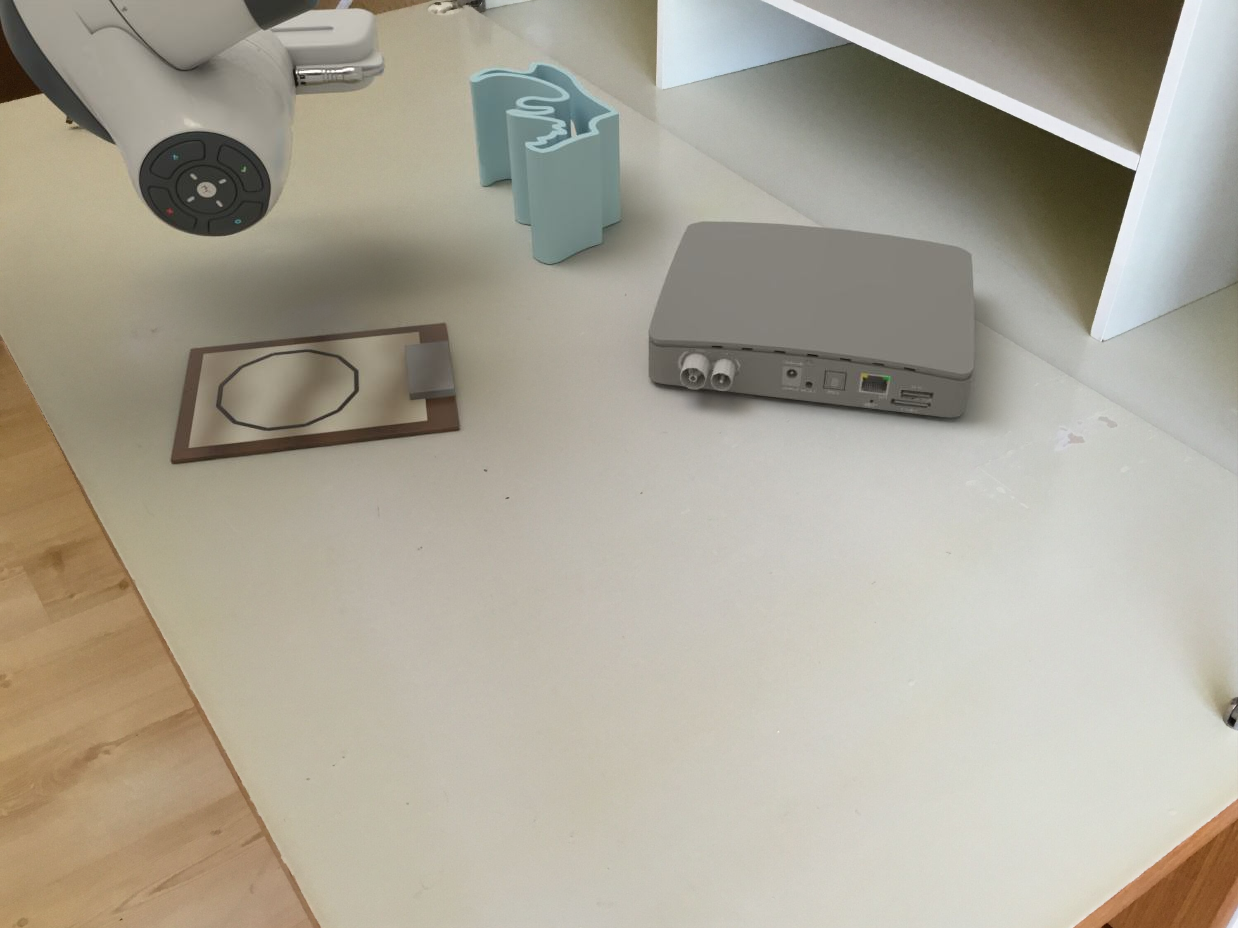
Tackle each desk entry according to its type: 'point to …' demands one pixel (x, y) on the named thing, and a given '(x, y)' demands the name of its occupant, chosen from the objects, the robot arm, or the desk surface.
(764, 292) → the electronic device
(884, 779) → the desk surface
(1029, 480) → the desk surface
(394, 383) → the clipboard
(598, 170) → the squiggly pen holder
